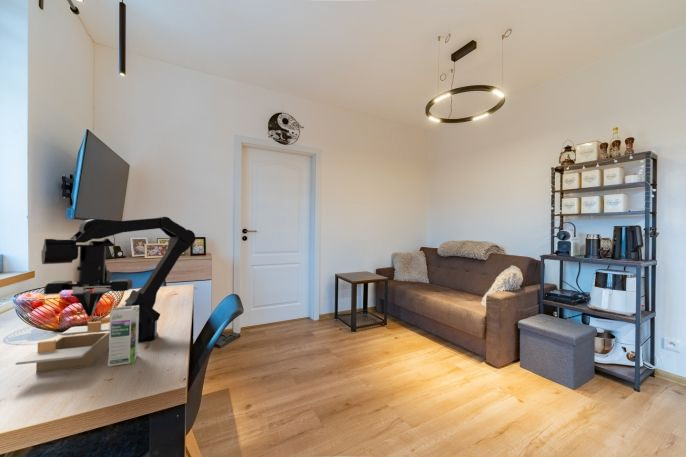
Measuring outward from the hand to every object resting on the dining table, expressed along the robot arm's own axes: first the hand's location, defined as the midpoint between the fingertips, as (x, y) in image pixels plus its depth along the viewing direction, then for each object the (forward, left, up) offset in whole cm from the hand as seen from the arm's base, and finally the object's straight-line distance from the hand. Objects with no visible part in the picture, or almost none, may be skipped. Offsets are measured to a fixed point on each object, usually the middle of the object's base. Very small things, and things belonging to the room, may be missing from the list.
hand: (90, 315), depth 84 cm
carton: (+1, +5, -11) cm, 12 cm away
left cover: (+1, +15, -6) cm, 16 cm away
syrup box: (-11, +10, -11) cm, 18 cm away
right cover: (+1, -4, -6) cm, 7 cm away
